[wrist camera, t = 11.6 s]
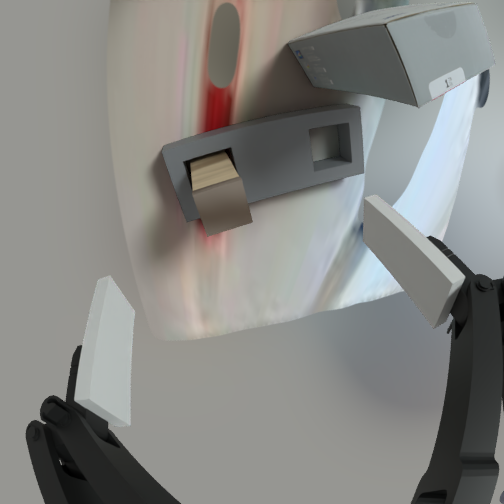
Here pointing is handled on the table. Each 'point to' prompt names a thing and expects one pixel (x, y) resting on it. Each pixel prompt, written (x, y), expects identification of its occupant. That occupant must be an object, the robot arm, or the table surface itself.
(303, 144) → the socket strip
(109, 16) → the table surface
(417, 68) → the hard drive box
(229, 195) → the plug
